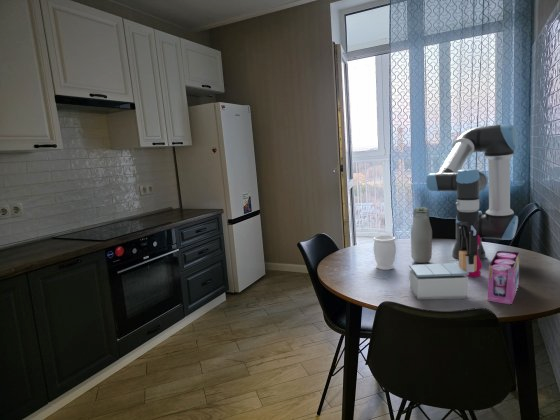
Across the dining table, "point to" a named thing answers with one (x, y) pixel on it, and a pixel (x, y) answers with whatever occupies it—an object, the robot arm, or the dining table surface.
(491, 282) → the gum box
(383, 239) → the jar
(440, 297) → the cabinet body
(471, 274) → the pepper mill
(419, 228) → the grey rounded cylinder
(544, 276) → the dining table surface
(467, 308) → the dining table surface
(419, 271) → the lid
